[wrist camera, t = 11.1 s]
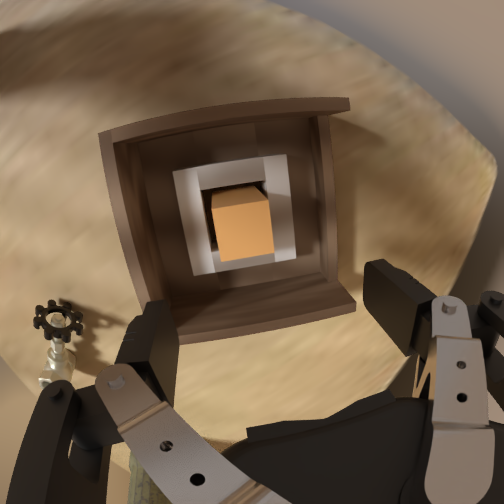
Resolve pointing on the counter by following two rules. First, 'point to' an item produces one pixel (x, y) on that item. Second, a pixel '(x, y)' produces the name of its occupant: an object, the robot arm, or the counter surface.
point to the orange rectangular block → (242, 223)
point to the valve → (58, 341)
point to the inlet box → (196, 222)
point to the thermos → (143, 486)
